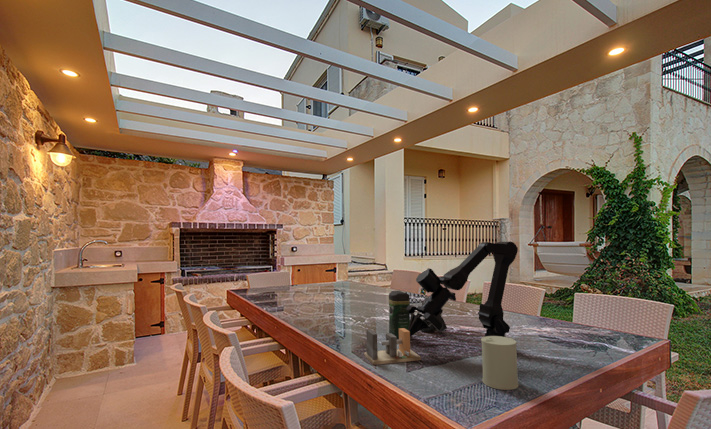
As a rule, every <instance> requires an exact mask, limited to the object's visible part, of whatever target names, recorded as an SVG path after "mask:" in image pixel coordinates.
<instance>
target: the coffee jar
mask: <svg viewBox="0 0 711 429" xmlns="http://www.w3.org/2000/svg"><path fill="white" fill-rule="evenodd" d="M410 297H411V296H410V294H409V293H407V292H404V291H402V290H391V291H390V292H389V294H388V306H389V308H388V309H389V311H388V312H389V313H388V316H389V318H388V321H389V322H388V333H392V334H393V335H394V336H396V337H397V340H399V328H405V329H406V330H408V327H409V323H410V318H411V314H410V313H409V312H408V311H407V310H406V308H407V307H408V305H411V300H410Z"/></svg>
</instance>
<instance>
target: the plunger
mask: <svg viewBox="0 0 711 429" xmlns="http://www.w3.org/2000/svg"><path fill="white" fill-rule="evenodd" d="M381 345H382V346H386V345H389V340H388V341H386V340H381ZM397 345H398V349H399V351H401V352H402V353H403V354H404V355H407V356H409V355H410V350H411V336H410V331H408V330H406V329H405V328H399V339H397Z"/></svg>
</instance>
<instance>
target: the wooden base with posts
mask: <svg viewBox="0 0 711 429" xmlns="http://www.w3.org/2000/svg"><path fill="white" fill-rule="evenodd" d="M365 330H366V351H365V352H363V354H364V356H365V358H366V360H368V361H369V362H370V363H371V364H372V365H374V366H375V365H383V364H385V365H386V364H395V363H404V362H406V363H407V362H415V361H421V360H422V358H421V356H420V355H419V354H417V353H416V352H415V351H413V350H412V349H410V355H409V356H407V355H404V354H403V353H402V357H399V356H398V351H399V348H398V349H397V346H398V344H397V340H398V338H397V337H396V336H394V335H393V334H392V333H389V332H387V333H385V341H388V340H389V345H385V349H384V350H378V333H376V332H375V331H374V330H373V329H371V328H370V329H365Z"/></svg>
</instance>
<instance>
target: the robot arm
mask: <svg viewBox="0 0 711 429" xmlns="http://www.w3.org/2000/svg"><path fill="white" fill-rule="evenodd" d="M518 250H519V249H518V246H517V244H516V243H515V242H513V241H497V242H496V243H494V242H489V241H483V242H482V241H481V242H480V243H479V244H477V247H476V248H474V250H473V251H472V252H471V253H470V254H469V255H467V257H466V258H465V259H464V260H463V261H462V262H461V263H460V264H459V265H458V266H455V267H453V268H451V269H449V271H447V272H446V273H444V274H443V276H439V275H437V274H436V273H435V271H434V270H433V269H432V268H429V267H428V268H427V269H426V270H424V271H422V272H421V273H419V274H418V275H417V277H416V279H415V282H416V283H417V284H418V285H419V286H420V287H421V288H422V289H423V290H424V291H425V292H426V293H430V295H429V297H427V296H426V297H424V304H423V305H422V304H421V305H418V306H415V305H413V304H410V305H408V307H407V308H406V310H407V311H408V312H409V313H410V323H409V327H408V331H410V337H412V336H414V335H415V334H417V333H418V332H420V331H421V329H423V328H428V329H430V327H429V326H430V325H431V324H432V325H433V329H434V330H435V332H438V333H439V334H440V333H443V332H444V331H445V330H447V328H448V327H447V324H446V322H445V320H444V318H443V316H442V314H443V312H444V310H443V307H444V306H445V305H446V304H447V302H448V301H449V300H450V301H453V302H456V301H457V297H456V292H454V291H460V290H462V289H463V288H464V286H465V285H466V283H467V282H468V280H469V276H470V275H471V273H472V272H473V271H474V270H475V269H476V268H477V267H478V266H479V265H480V264H481V263H482V262H483V260H485V259H486V258H487V257H488V256H489V255H490V254H492V257H493V260H494V267H493V271H492V278H491V282H490V285H489V286H490V287H489V291H488V296H487V300H486V301H485V303H484V304H483V303H480V304H479V309H478V312H477V314H478V320H479V322H480V323H481V324H482V327H483V329H486V330H485V331H486V332H485V333H484V337H486V336H501V337H507V335H506V334H507V333H509V332H510V329H511V326H510V325H509V324H508V323H507V322H506V321H505V320H504V315H505V314H504V310H503V306H502V302H503V297H504V293H505V287H506V284H507V283H506V282H507V278H508V273H509V269H510V266H511V265H512V264H513V262H514V261H516V260H515V259H516V257H517V255H518V252H519V251H518ZM451 290H452V291H453V290H454V291H453V292H452V291H451Z"/></svg>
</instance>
